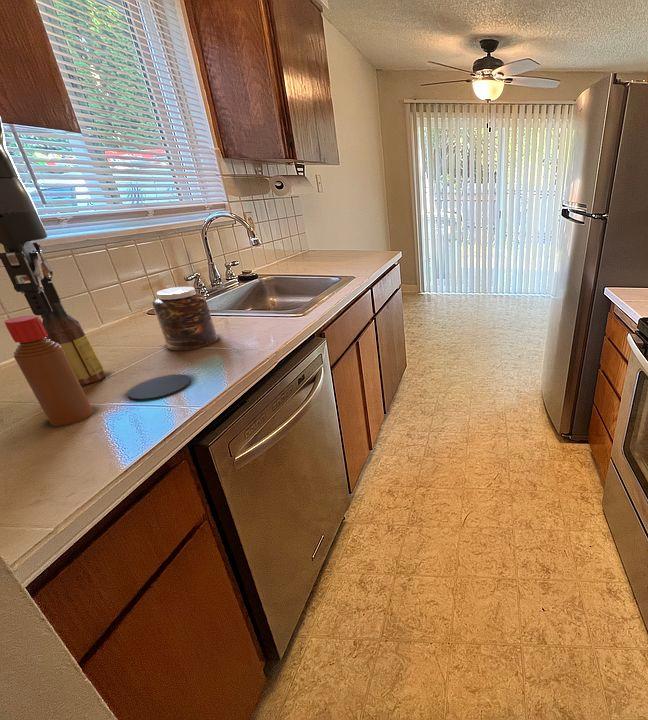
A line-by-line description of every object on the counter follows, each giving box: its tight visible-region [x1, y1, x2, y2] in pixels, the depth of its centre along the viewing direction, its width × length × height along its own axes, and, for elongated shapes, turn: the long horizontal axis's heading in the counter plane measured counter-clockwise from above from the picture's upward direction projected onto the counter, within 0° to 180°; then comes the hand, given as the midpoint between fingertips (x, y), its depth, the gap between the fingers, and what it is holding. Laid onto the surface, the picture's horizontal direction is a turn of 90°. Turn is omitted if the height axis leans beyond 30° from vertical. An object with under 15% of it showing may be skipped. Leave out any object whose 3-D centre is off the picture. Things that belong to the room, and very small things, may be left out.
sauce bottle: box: [40, 298, 106, 386], centre depth 87 cm, size 7×6×20 cm
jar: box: [152, 286, 219, 351], centre depth 108 cm, size 12×12×15 cm
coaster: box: [127, 374, 192, 401], centre depth 87 cm, size 11×11×1 cm
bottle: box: [13, 338, 94, 427], centre depth 72 cm, size 6×6×20 cm
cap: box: [3, 314, 48, 343], centre depth 69 cm, size 4×4×4 cm
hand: (48, 308), depth 70 cm, fingers open, 8 cm apart
